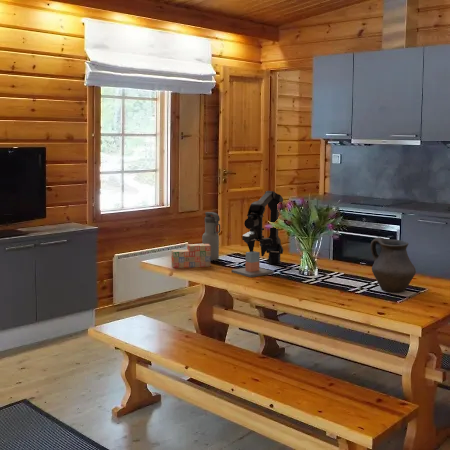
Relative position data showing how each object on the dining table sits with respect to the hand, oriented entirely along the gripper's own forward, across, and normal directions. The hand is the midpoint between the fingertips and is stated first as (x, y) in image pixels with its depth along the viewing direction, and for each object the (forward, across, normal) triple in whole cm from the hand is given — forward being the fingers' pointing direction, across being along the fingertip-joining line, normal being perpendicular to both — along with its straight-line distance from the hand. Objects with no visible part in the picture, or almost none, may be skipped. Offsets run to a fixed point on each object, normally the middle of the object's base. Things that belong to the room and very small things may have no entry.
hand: (256, 254), depth 345 cm
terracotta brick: (+8, 0, -3) cm, 9 cm away
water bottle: (+10, -43, 0) cm, 44 cm away
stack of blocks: (+10, -34, -20) cm, 40 cm away
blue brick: (+3, 0, -3) cm, 4 cm away
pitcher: (+10, +69, +26) cm, 74 cm away
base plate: (+9, 0, -3) cm, 10 cm away
